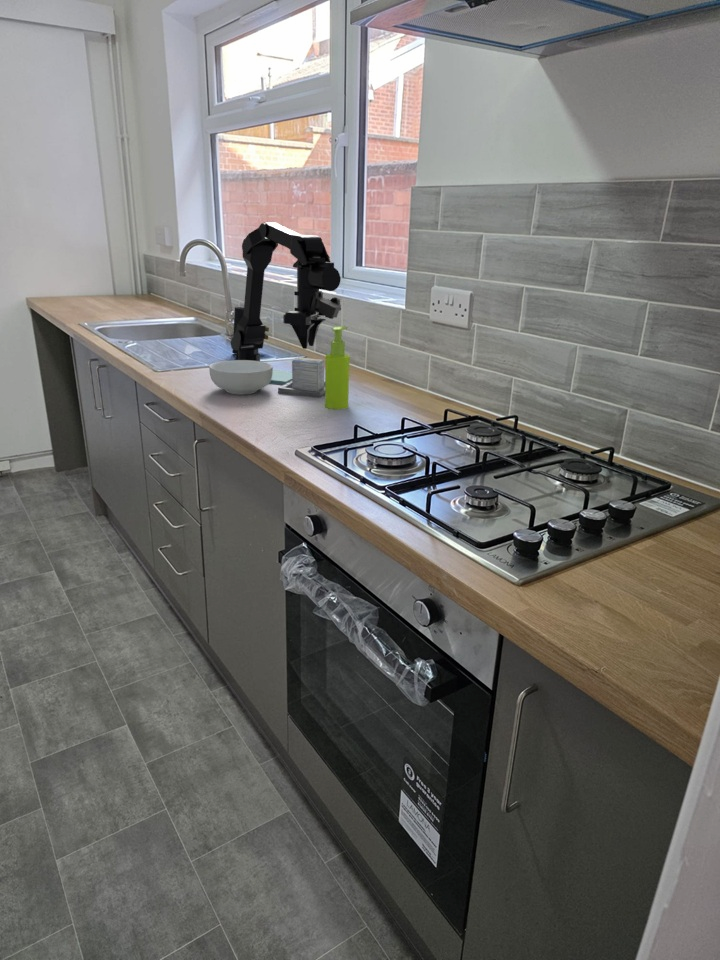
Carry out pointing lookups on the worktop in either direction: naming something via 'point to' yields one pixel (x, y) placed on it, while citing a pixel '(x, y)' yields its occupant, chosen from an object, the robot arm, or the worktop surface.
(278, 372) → the board
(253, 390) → the cereal bowl
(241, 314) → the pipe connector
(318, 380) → the medicine box
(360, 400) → the worktop surface
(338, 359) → the soap dispenser
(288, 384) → the hollow square frame
